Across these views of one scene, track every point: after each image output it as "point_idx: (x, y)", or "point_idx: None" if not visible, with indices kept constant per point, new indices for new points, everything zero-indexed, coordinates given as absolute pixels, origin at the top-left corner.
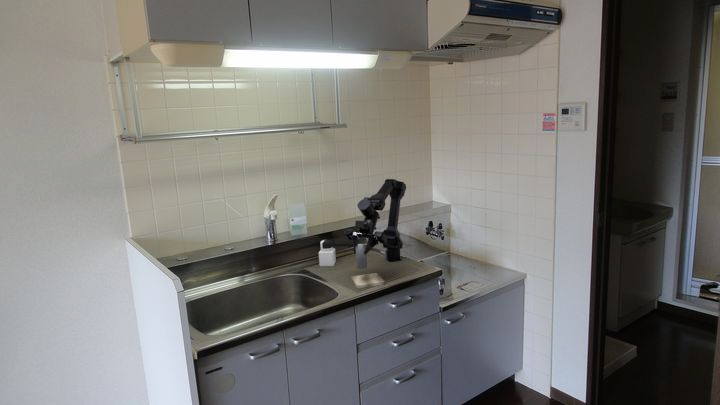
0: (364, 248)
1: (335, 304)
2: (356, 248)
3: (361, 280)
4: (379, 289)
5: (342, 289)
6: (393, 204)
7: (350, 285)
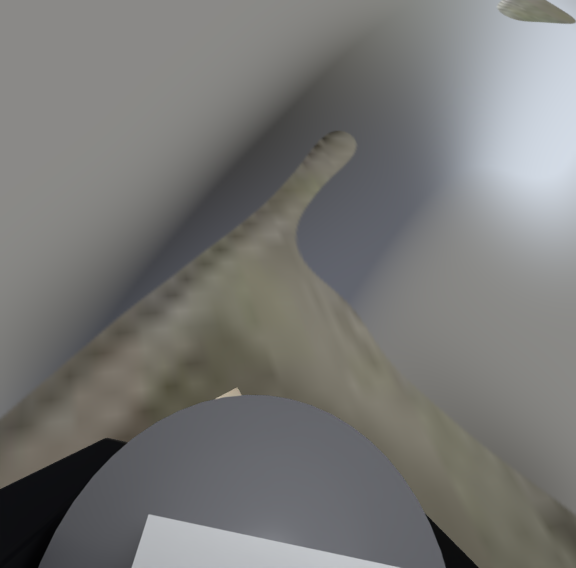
0: (93, 480)
1: (297, 169)
2: (362, 440)
3: None
4: (41, 396)
5: (344, 362)
6: None
7: None
